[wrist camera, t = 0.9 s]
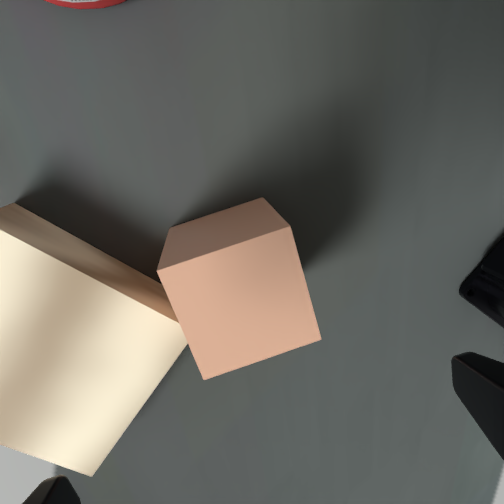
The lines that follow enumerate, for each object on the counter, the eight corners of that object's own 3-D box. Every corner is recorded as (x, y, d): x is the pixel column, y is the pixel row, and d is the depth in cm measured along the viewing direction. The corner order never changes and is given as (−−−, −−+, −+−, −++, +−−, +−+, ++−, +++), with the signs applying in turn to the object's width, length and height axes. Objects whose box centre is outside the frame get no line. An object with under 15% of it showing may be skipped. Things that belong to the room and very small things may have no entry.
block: (262, 196, 18) (290, 226, 13) (287, 281, 20) (321, 339, 15) (169, 227, 18) (156, 270, 13) (202, 309, 20) (203, 380, 14)
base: (196, 303, 20) (195, 332, 17) (105, 431, 22) (91, 476, 19) (13, 202, 17) (-24, 217, 14) (-73, 361, 19) (-121, 402, 16)
